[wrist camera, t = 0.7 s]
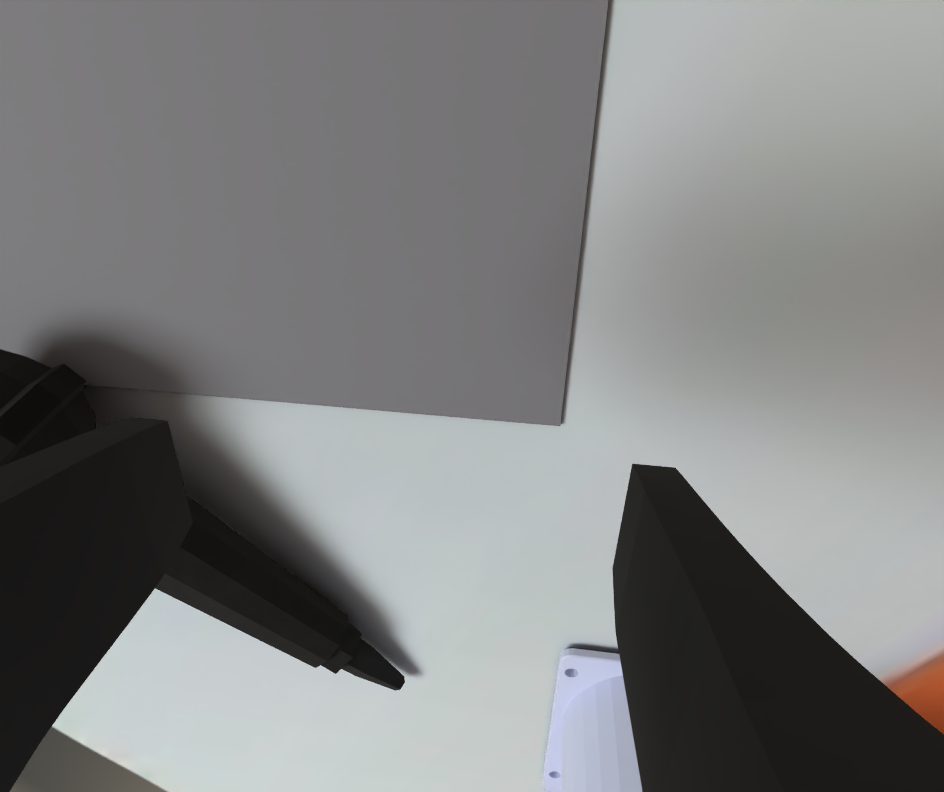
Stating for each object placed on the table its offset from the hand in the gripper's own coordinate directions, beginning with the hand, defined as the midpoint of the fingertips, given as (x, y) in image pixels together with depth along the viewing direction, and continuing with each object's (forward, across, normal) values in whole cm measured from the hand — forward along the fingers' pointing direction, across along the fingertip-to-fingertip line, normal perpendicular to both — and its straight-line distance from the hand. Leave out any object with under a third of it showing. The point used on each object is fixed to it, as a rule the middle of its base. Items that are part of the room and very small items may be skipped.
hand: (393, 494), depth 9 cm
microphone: (+10, +10, +10) cm, 17 cm away
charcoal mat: (+9, +10, -3) cm, 14 cm away
